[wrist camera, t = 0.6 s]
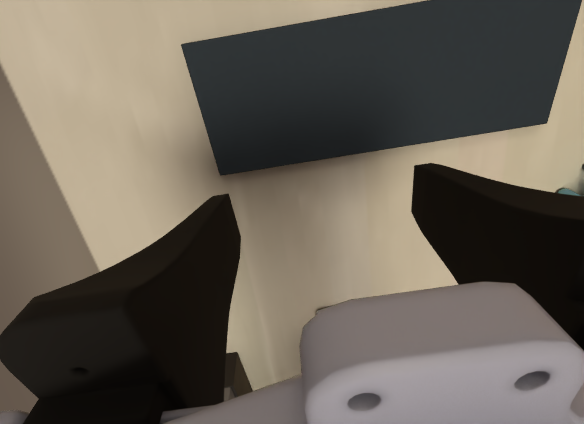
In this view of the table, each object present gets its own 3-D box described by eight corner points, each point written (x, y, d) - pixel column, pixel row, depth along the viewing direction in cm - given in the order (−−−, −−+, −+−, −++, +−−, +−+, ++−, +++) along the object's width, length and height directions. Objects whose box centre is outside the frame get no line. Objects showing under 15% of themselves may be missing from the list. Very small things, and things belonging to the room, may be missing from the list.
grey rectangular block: (260, 410, 38) (258, 464, 33) (225, 414, 38) (218, 469, 34) (237, 352, 32) (230, 408, 27) (196, 357, 32) (182, 414, 27)
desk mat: (540, 121, 21) (547, 123, 20) (221, 172, 21) (220, 176, 21) (580, -27, 16) (590, -29, 16) (183, 43, 17) (180, 44, 17)
